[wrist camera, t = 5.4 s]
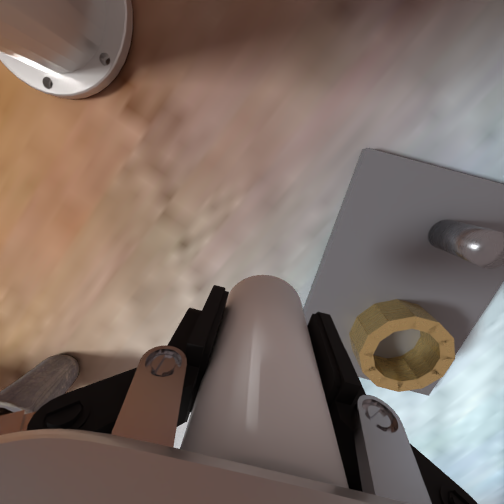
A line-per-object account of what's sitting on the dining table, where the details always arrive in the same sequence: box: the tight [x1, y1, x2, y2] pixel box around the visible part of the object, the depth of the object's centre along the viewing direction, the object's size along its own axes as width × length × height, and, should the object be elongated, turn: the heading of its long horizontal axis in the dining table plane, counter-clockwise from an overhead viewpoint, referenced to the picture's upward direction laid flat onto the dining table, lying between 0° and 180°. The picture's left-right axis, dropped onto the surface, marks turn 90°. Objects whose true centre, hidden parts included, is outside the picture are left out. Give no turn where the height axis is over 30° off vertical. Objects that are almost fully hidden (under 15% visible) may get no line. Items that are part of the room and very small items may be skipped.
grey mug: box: [0, 355, 79, 416], centre depth 28 cm, size 6×13×8 cm, turn 127°
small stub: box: [428, 219, 504, 269], centre depth 19 cm, size 3×3×5 cm
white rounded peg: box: [180, 275, 349, 489], centre depth 9 cm, size 4×4×8 cm
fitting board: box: [303, 148, 504, 396], centre depth 23 cm, size 22×16×1 cm
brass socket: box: [349, 299, 455, 392], centre depth 23 cm, size 8×8×3 cm
